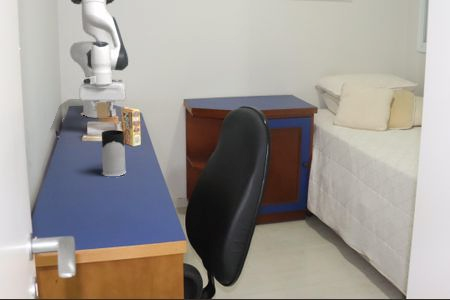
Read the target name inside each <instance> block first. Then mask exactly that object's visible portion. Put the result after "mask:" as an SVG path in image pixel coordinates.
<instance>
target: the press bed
mask: <svg viewBox="0 0 450 300" xmlns="http://www.w3.org/2000/svg"><path fill="white" fill-rule="evenodd" d="M86 125H87V126H86V127H87V128H86V129H87V131H86V133H84V135H83V136H82V137H81V141H82V142H102V132H104V131H108V130H119V131H122V125H121V121H119V123H118V124H117V129H116V122H99V121H87V123H86Z"/></svg>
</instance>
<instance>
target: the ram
mask: <svg viewBox="0 0 450 300" xmlns="http://www.w3.org/2000/svg"><path fill="white" fill-rule="evenodd" d="M107 102H110V106H111V101H107ZM98 122H116V129H117V124H118V123H119V122H120V120H119V116H118V115H116V116H112V111H110V116H109V117H99V118H98Z"/></svg>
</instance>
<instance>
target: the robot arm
mask: <svg viewBox="0 0 450 300" xmlns="http://www.w3.org/2000/svg"><path fill="white" fill-rule="evenodd" d="M114 1H115V0H70V2H71V3H73V4H75V5H77V6H78V5H81V21H82V30H83V31H84V33H86V35H88V36H91V37H92V38H94V40H95V41H78V42H74V43H73V44H72V45H71V46H70V48H69V54H70V57H71V59H72V60H73V61H74V63H77V64H78V65H79V67H80V68H81V69H82V71H83V72H84V76H85V77H83V78H81V80H80V83H81V85H80V86H79V93H78V96H79V97H78V98H79V100H80V101H83V111H82V112H81V113H80V116H83V115H85V116H84V117H86V116H87V117H88V118H93V119H94V118H98V119H99V118H100V117H97V107H96V104H97V103H98V102H107V101H111V106H109V111H112V116H117V110H116V108H114V105H115V103H116V102H124V101H125V100H126V99H127V94H126V89H127V83H126V82H125V80H123V79H113V71H124V70H125V69H126V68H127V67H128V66H129V55H128V53H127V49H126V48H125V44H124V41H123V38H122V34H121V32H120V29H119V26H118V23H117V20H116V18H115V17H114V16H113V15H111V13H109V11H108V8H107V5H109V4H112V3H114ZM109 35H110V36H109Z"/></svg>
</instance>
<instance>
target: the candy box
mask: <svg viewBox="0 0 450 300" xmlns="http://www.w3.org/2000/svg"><path fill="white" fill-rule="evenodd" d="M120 119H121V120H120V122H121V125H122V131H123V132H124V144H126V145H129V146H132V147H136V146H141V145H142V144H141V143H142V142H141V141H142V139H141V138H142V137H141V134H142V133H141V112H140V109H138V108H134V107H130V106H127V107H120Z"/></svg>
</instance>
